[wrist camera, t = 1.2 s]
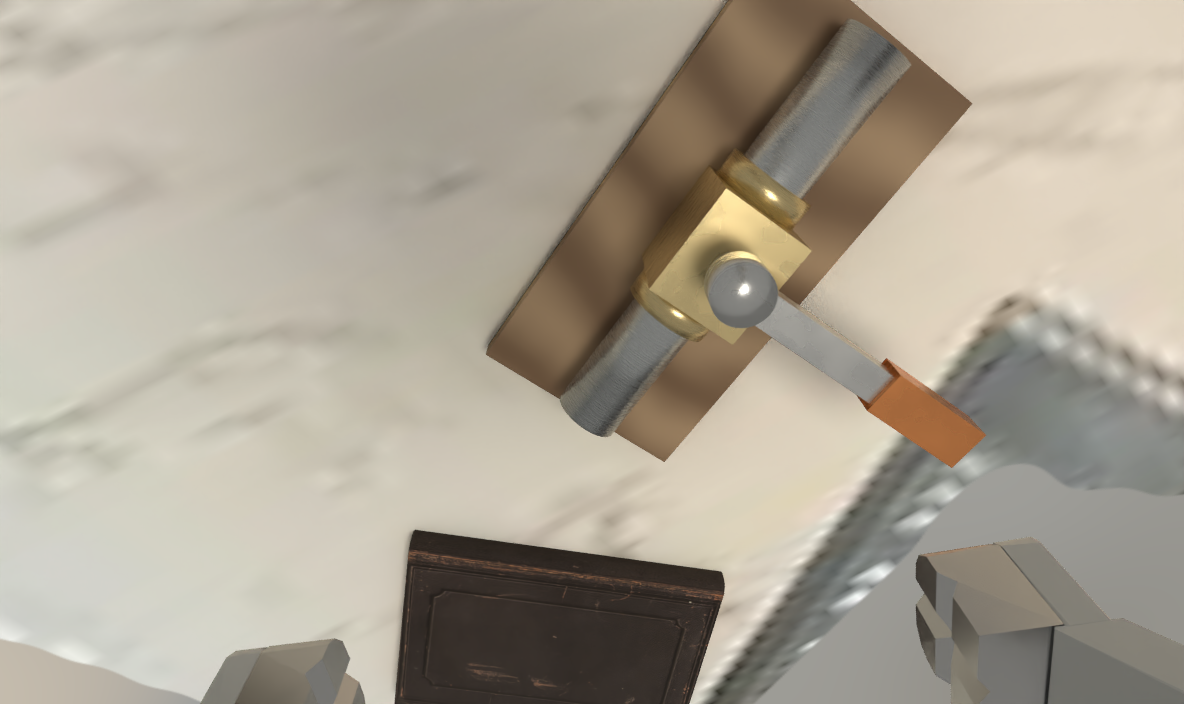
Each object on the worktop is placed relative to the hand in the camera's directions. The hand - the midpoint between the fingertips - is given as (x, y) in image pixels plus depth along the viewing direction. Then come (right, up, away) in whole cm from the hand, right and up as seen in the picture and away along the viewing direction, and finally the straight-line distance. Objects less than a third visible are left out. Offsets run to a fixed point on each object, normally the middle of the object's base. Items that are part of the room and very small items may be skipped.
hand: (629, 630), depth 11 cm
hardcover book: (-3, -18, +49) cm, 53 cm away
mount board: (+7, +11, +35) cm, 38 cm away
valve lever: (+12, +4, +28) cm, 31 cm away
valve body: (+7, +11, +35) cm, 38 cm away
